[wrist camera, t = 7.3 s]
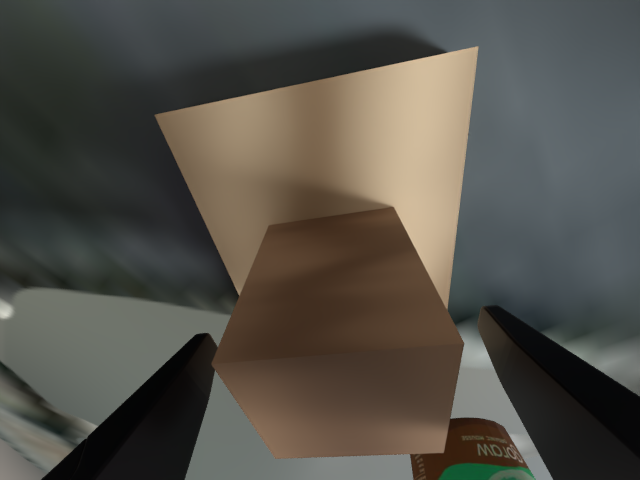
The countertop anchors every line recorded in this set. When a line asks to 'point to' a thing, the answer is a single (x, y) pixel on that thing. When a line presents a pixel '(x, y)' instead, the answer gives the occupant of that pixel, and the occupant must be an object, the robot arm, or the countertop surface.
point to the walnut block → (342, 341)
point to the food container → (473, 454)
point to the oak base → (333, 156)
